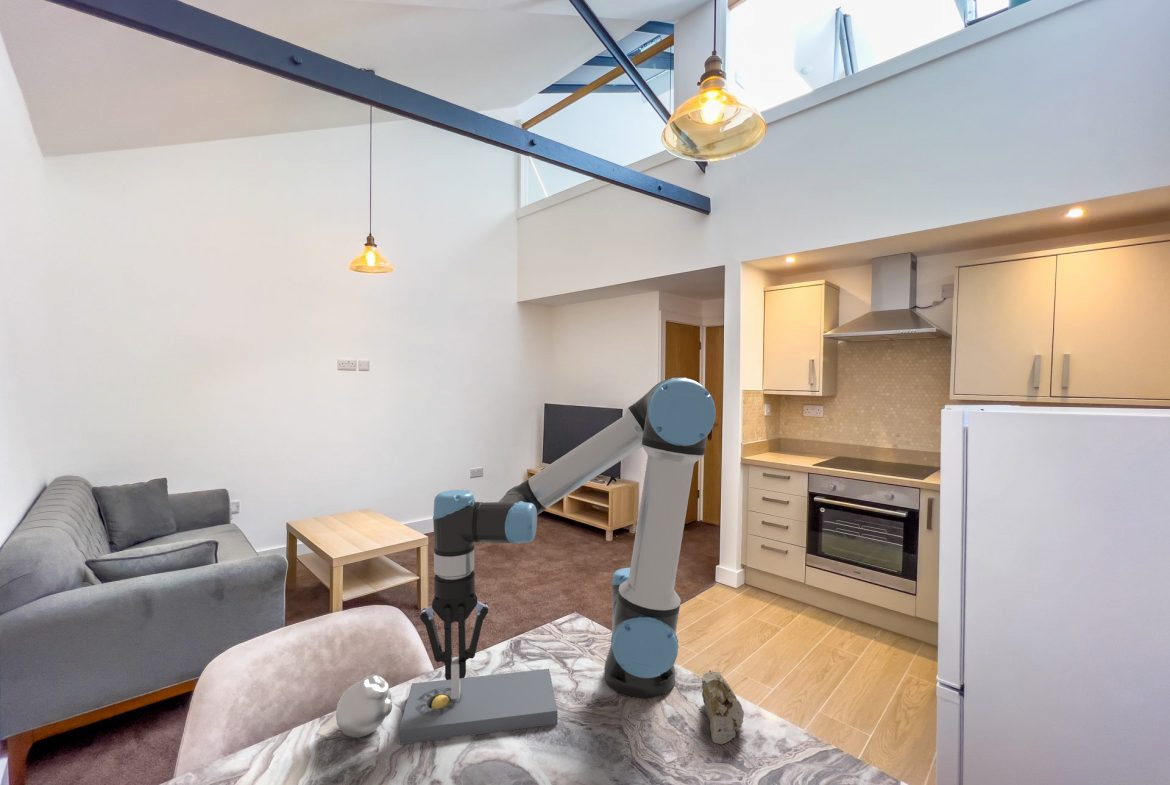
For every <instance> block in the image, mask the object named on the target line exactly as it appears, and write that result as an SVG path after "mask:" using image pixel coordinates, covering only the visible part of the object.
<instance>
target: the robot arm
mask: <svg viewBox="0 0 1170 785" xmlns="http://www.w3.org/2000/svg"><path fill="white" fill-rule="evenodd" d="M715 404H716V403H715V401H714V399H713V396H712V395H711V393H710V392H709V390H708V389H706V387H704V386H703V385H702V384H701V383H699V382H698V381H696V380H694V379H691V378H687V377H672V378H669V379H665V380H662V381H660V382H658V383H656V384H655V385H654V386H653V387H652V388H650V390H648V392H646V393H645V394H644V395H643V396H642V397H641V398H640V399H638V400H637V401H636V402H634V403H633V404H632V405H630V406H628V407H627V408H626V410H625V413H624V414H625V415H623V416H622V417H620V418H619V419H617V420H616V421H614V422H612V423H611V424H609V425H607V427H605V428H604V429H602V430H601V431H599V432H597V433H596V434H595V435H593V436H591V437H589V438H588V439H587V440H585V441H584V442H582V443H581V444H580V445H578V446H576V447H575V448H573V449H572V450H570V451H568V452H567V453H565V454H564V455H563V456H561V457H559V458H557V459H556V460H555V461H553V462H552V463H550V464H549V465H547V466H546V467H545V468H543V469H541V470H539V471H538V472H536V473H535V474H534V475H532V476H531V477H529V478H528V479H527V480H525V481H523V482H521V483H520V484H518V485H515V486H514V487H511V488H510V489H509V490H508V491H507V492H506V493H505V494H504V496H502V498H500V499H499V501H494V502H493V501H489V502H487V501H486V502H485V501H484V502H483V501H476V500H475V499H476V498H475V496H474V493H473V492H472V491H470V490H467V489H465V490H464V489H452V490H451V489H450V490H445V491H442V492H441V491H440V493H438V494H437V495H436V496H434V500H433V516H432V521H433V548H434V549H433V573H434V574H435V575H434V578H433V581H434V582H433V586H434V587H433V588H434V590H433V592H434V596H433V597H434V598H433V599H432V602H431V605H429V606H428V607H426V608H425V607H424V608H422V610H421V611H420V615H419V619H420V621H421V622H422V623H423V625H424V626H425V628H426V632H427V635H428V639H429V643H430V647H431V651H432V654H433V658H434V661H435V663H441V662H442V663H444V679H445V680H451V699H456V698H459V697H460V678H466V673H467V660H469V659H474V658H475V656H476V653H477V652H476V651H477V648H478V644H479V639H480V635H481V631H482V628H483V627H482V626H483V622H484V620H485V618H486V616H487V615H488V613H489V604H488V603H487V602H484V603H483V602H481V601H479V600H478V595H477V594H476V587H475V586H476V584H475V583H476V581H475V575H476V574H475V572H474V570H475V543H483V544H484V543H490V544H493V543H494V544H514V545H518V544H525V543H526V544H527V543H531V542H533V541H534V539H535V538H536V534H537V530H538V528H537V527H538V515H539V514H542V512H545V511H546V509H548V508H549V507H551V506H553V505H554V504H556V503H558V502H559V501H560V500H562V499H563V498H565V497H566V496H567V497H568V495H570V494H571V493H572V492H575V491H576V490H577V489H579V488H581V487H582V486H583V485H586V484H587V483H588V482H590V481H592V480H593V479H595V478H596V477H597V476H599V475H600V474H602V473H604V472H606V471H607V470H609V469H610V468H612V467H613V466H614V465H616V464H618V463H620V462H621V461H623V460H624V459H625V458H627V457H629V456H631V455H632V454H634V453H635V452H636V451H638V450H639V449H641V448H643V449H644V451H645V453H646V455H647V460H646V466H645V471H644V478H643V487H642V489H641V490H642V492H641V498H640V505H639V510H638V517H637V523H636V529H635V536H634V542H633V550H632V555H631V562H630V567H623V568H620V569H617V570H615V571H614V573H613V574H612V581H611V587H612V589H611V590H612V593H611V594H612V596H611V599H612V600H611V602H612V608H611V610H612V616H611V626H612V628H611V639H610V647H609V650H608V653H607V656H606V659H605V662H604V668H603V669H604V675H603V676H604V681H605V683H606V684H607V686H608V687H609V688H610V689H611V690H613V691H614V692H616V693H618V694H619V695H622V696H624V697H627V698H632V699H641V700H645V699H646V700H647V699H655V698H658V697H661V696H663V695H666V694H667V693H669V692H670V691H671V690H673V688H674V686H675V684H676V668H675V665H674V664H675V662H676V660H677V658H678V653H679V647H680V646H679V639H678V636H677V627H678V621H679V614H680V607H681V602H682V600H681V597H680V595H679V594H678V593H677V592H676V589H675V586H676V578H677V572H678V566H679V560H680V554H681V547H682V540H683V536H684V529H685V522H686V515H687V510H688V503H689V497H690V492H691V491H690V490H691V484H692V478H693V472H694V466H695V463H696V462H697V461H699V460H701V459H702V458H704V457H705V453H706V452H705V451H706V446H707V439H708V435H709V434H710V433H711V431H712V429H713V427H714V425H715V422H716V413H717V410H716V405H715ZM474 609H475V615H476V617H475V620H474V625H473V626H474V627H473V630H472V634H471V639H470V642H469V648H467V645H466V644H467V642H466V641H467V638H466V636H467V634H466V627H467V626H466V620H467V619H468V618H469V616H470V615H471V613H473V611H474ZM435 615H437V616H438V617H439V618H440V620H441V621H442V622H443V625H444V626H443V629H444V651H443V649H442V648H443V647H442V644H441V641H440V637H439V634H438V633H439V632H438V629H437V625H436V622H435V619H434V617H435ZM453 623H457V628H458V629H457V630H458V636H457V637H458V656H453Z"/></svg>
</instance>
